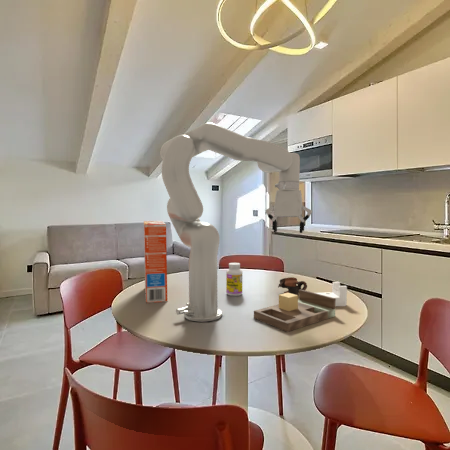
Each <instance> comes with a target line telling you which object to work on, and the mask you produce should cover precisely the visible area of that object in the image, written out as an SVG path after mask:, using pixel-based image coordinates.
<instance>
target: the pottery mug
mask: <svg viewBox="0 0 450 450" xmlns="http://www.w3.org/2000/svg"><path fill="white" fill-rule="evenodd" d="M302 286H303V287H302ZM277 288H282V289H287V290H286V291H284V292H283V294H284V293H291V294H295V295H298V297H299V290H300V289H301V290H305V291H307V288H308V284H307V282H306V281H304V280H301V281H299V280H298V279H297V277H293V276H292V277H285V278H284V277H283V278H281V279H279V284H278V286H277Z"/></svg>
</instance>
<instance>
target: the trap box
mask: <svg viewBox="0 0 450 450" xmlns="http://www.w3.org/2000/svg"><path fill="white" fill-rule="evenodd" d="M301 289H302V288H301ZM301 289H300V290H299V296H298V309H295V310H291V311H287V310H284V309H281V308H279V303H278V304H275V305H271V306H267V307H263V308H260V309H256V310H255V309H254V310H253V319H254V320H255V319H256V320H257V321H260V322H262V323H265V324H267V325H270V326H272V327H274V328H277V329H279V330H282V331H284V332H287V333H288V332H292V331H294V330H298V329H300V328H304V327H307V326H310V325H313V324H316V323H318V322H321V321H324V320H327V319H330V318H333V317H336V306H335V301H336V299H335V298H332V297H328V296H324V295H320V294H317V293H318V292H311V291H309V290H301Z"/></svg>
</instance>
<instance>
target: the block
mask: <svg viewBox="0 0 450 450" xmlns="http://www.w3.org/2000/svg"><path fill="white" fill-rule="evenodd" d="M298 299H299V296H298V295H295V294H291V293H284V292H283V293H281V294H278V304H279V308H281V309H284V310H287V311H291V310H295V309H298Z"/></svg>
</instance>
